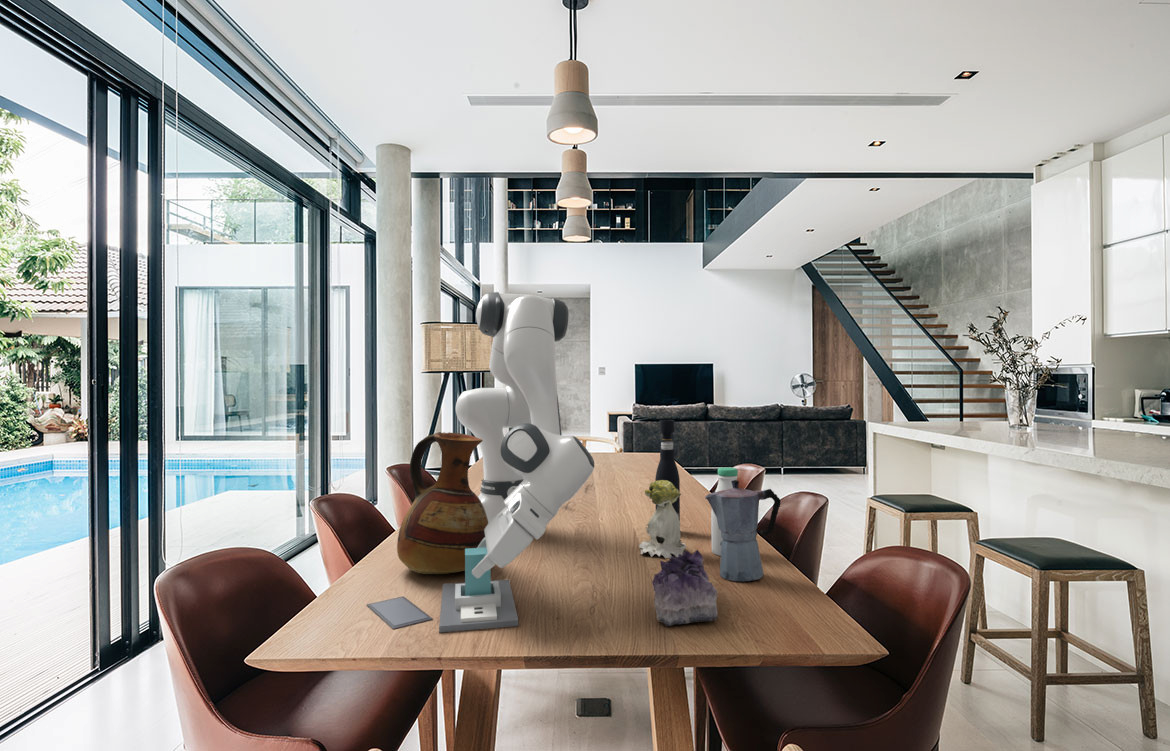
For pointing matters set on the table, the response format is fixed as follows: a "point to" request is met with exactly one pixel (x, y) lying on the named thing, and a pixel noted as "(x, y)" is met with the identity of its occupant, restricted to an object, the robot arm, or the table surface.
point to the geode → (684, 591)
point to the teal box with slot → (471, 582)
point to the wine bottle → (668, 461)
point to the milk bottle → (724, 483)
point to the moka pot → (741, 530)
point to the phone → (399, 612)
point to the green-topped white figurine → (663, 522)
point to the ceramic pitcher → (442, 510)
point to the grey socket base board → (477, 608)
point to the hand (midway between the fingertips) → (473, 567)
